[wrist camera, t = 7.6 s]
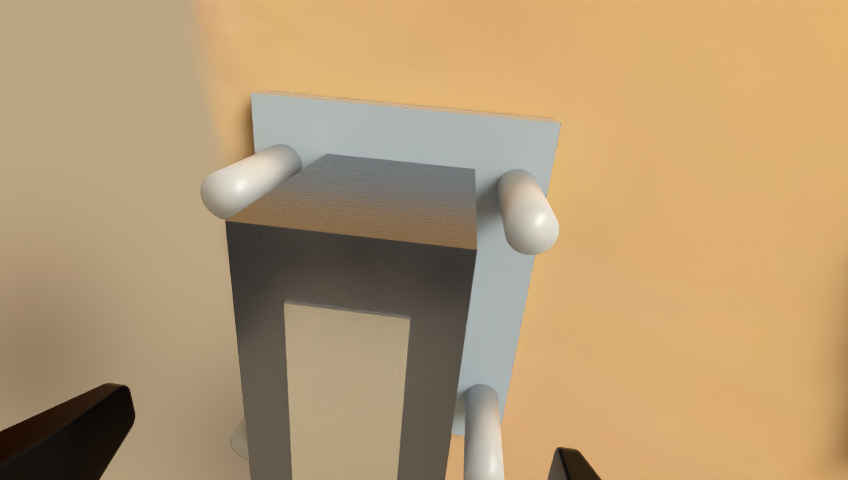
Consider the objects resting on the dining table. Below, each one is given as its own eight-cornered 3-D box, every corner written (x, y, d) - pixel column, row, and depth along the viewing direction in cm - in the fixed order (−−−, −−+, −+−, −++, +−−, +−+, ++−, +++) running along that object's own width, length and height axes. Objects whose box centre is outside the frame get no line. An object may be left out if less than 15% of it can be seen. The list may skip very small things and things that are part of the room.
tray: (496, 421, 18) (504, 529, 14) (281, 390, 19) (226, 487, 14) (555, 118, 13) (592, 146, 9) (265, 90, 14) (177, 104, 10)
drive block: (444, 403, 17) (430, 579, 11) (327, 387, 17) (255, 551, 11) (475, 169, 13) (477, 252, 8) (327, 153, 13) (222, 222, 8)
